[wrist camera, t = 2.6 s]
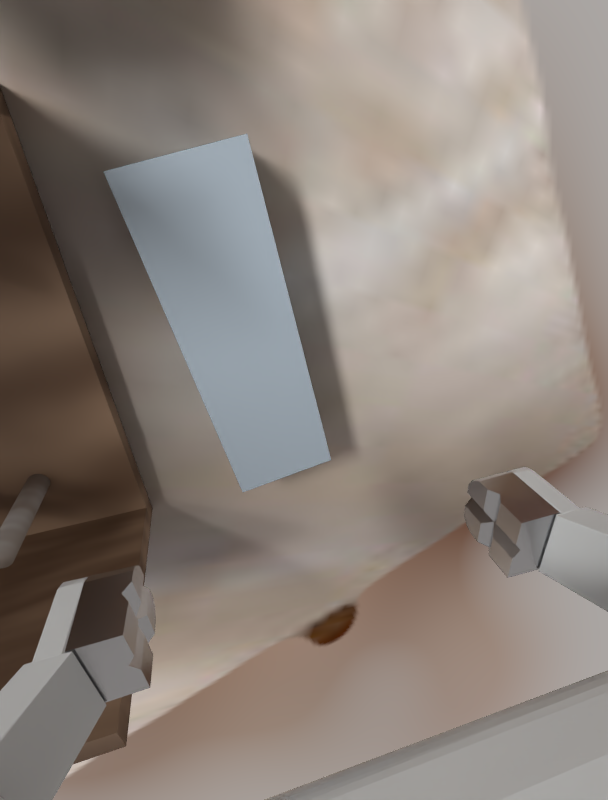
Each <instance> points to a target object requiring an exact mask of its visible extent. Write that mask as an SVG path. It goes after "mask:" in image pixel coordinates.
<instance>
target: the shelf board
mask: <svg viewBox="0 0 608 800" xmlns="http://www.w3.org/2000/svg"><path fill="white" fill-rule="evenodd" d="M103 172H104V174H105V176H106V179H107V181H108V183H109V186H110V188H111V190H112V193H113V195H114V197H115V199H116V202H117V204H118V206H119V209H120V211H121V213H122V216H123V218H124V220H125V222H126V225H127V227H128V229H129V232H130V234H131V236H132V239H133V241H134V243H135V246H136V248H137V250H138V252H139V255H140V257H141V259H142V262H143V264H144V266H145V269H146V271H147V273H148V275H149V278H150V280H151V282H152V285H153V287H154V289H155V292H156V294H157V296H158V298H159V301H160V303H161V305H162V308H163V310H164V312H165V315H166V317H167V319H168V321H169V324H170V326H171V328H172V331H173V333H174V335H175V338H176V340H177V342H178V344H179V347H180V349H181V351H182V354H183V356H184V358H185V361H186V363H187V365H188V367H189V370H190V372H191V374H192V377H193V379H194V381H195V384H196V386H197V388H198V390H199V393H200V395H201V397H202V400H203V402H204V404H205V407H206V409H207V411H208V413H209V416H210V418H211V420H212V423H213V425H214V427H215V430H216V432H217V434H218V436H219V439H220V441H221V443H222V446H223V448H224V450H225V453H226V455H227V457H228V459H229V462H230V464H231V466H232V469H233V471H234V473H235V476H236V478H237V480H238V483H239V485H240V487H241V489H242V492H245V491H248V490H251V489H253V488H256V487H259V486H261V485H264V484H267V483H270V482H272V481H275V480H278V479H281V478H283V477H286V476H289V475H291V474H294V473H297V472H300V471H302V470H305V469H308V468H311V467H313V466H316V465H319V464H321V463H324V462H327V461H330V460H331V457H330V453H329V450H328V446H327V442H326V438H325V434H324V430H323V426H322V422H321V419H320V415H319V411H318V407H317V403H316V399H315V395H314V391H313V387H312V384H311V380H310V376H309V372H308V368H307V364H306V360H305V356H304V353H303V349H302V345H301V341H300V337H299V333H298V329H297V325H296V321H295V318H294V314H293V310H292V306H291V302H290V298H289V294H288V290H287V287H286V283H285V279H284V275H283V271H282V267H281V263H280V259H279V256H278V252H277V248H276V244H275V240H274V236H273V232H272V228H271V224H270V221H269V217H268V213H267V209H266V205H265V201H264V197H263V193H262V190H261V186H260V182H259V178H258V174H257V170H256V166H255V162H254V158H253V155H252V151H251V147H250V143H249V139H248V135H247V134H244V135H240V136H236V137H232V138H228V139H225V140H221V141H217V142H213V143H209V144H206V145H202V146H198V147H194V148H190V149H187V150H183V151H179V152H175V153H171V154H168V155H164V156H160V157H156V158H152V159H149V160H145V161H141V162H137V163H133V164H130V165H126V166H122V167H118V168H114V169H111V170H107V171H103Z"/></svg>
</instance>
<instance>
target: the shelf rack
mask: <svg viewBox="0 0 608 800" xmlns="http://www.w3.org/2000/svg"><path fill="white" fill-rule="evenodd" d="M151 517H152V506H151V503H150V501H149V498H148V495H147V492H146V490H145V487H144V484H143V481H142V479H141V476H140V473H139V470H138V467H137V465H136V462H135V459H134V456H133V454H132V451H131V448H130V445H129V443H128V440H127V437H126V434H125V431H124V429H123V426H122V423H121V420H120V418H119V415H118V412H117V409H116V407H115V404H114V401H113V398H112V395H111V393H110V390H109V387H108V384H107V382H106V379H105V376H104V373H103V371H102V368H101V365H100V362H99V359H98V357H97V354H96V351H95V348H94V346H93V343H92V340H91V337H90V335H89V332H88V329H87V326H86V323H85V321H84V318H83V315H82V312H81V310H80V307H79V304H78V301H77V299H76V296H75V293H74V290H73V287H72V285H71V282H70V279H69V276H68V274H67V271H66V268H65V265H64V263H63V260H62V257H61V254H60V251H59V249H58V246H57V243H56V240H55V238H54V235H53V232H52V229H51V227H50V224H49V221H48V218H47V215H46V213H45V210H44V207H43V204H42V202H41V199H40V196H39V193H38V191H37V188H36V185H35V182H34V179H33V177H32V174H31V171H30V168H29V166H28V163H27V160H26V157H25V155H24V152H23V149H22V146H21V143H20V141H19V138H18V135H17V132H16V130H15V127H14V124H13V121H12V119H11V116H10V113H9V110H8V107H7V105H6V102H5V99H4V96H3V94H2V91H1V88H0V691H1V689H2V688H3V687H4V686H5V685H6V684H7V683H8V682H9V680H10V679H11V678H12V677H13V676H14V675H15V674H16V673H17V672H18V670H19V669H20V668H21V667H22V666H23V665H24V664H28V663H31V662H32V661H33V658H34V655H35V652H36V649H37V646H38V644H39V641H40V638H41V635H42V632H43V629H44V626H45V623H46V620H47V618H48V615H49V612H50V609H51V606H52V603H53V600H54V597H55V594H56V592H57V589H58V588H59V587H60V586H61V584H62V583H63V582H67V581H71V580H75V579H80V578H84V577H88V576H91V575H96V574H100V573H104V572H109V571H113V570H118V569H122V568H127V567H131V566H135V565H138V566H140V568H141V570H142V572H143V574H144V580H145V571H146V562H147V553H148V544H149V535H150V526H151ZM143 586H144V581H143ZM131 697H132V694H130V695H127V696H124V697H121V698H118V699H115V700H112V701H109V702H106V707H105V709H104V710H103V712H102V714H101V716H100V717H99V719H98V721H97V723H96V724H95V726H94V728H93V730H92V731H91V733H90V735H89V737H88V738H87V740H86V742H85V744H84V745H83V747H82V749H81V751H80V752H79V754H78V756H77V758H76V759H75V761H74V763H73V764H75V763H78V762H81V761H84V760H87V759H90V758H93V757H96V756H99V755H102V754H105V753H108V752H110V751H113V750H116V749H119V748H122V747H125V746H126V742H127V733H128V724H129V715H130V706H131Z"/></svg>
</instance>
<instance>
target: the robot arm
mask: <svg viewBox="0 0 608 800" xmlns="http://www.w3.org/2000/svg"><path fill="white" fill-rule="evenodd" d="M467 493H468V494H469V495H470V496H471V497H472V498H471V499H470V500H469V502H468V503H467V504H466V505H465V513H464V516H465V520H466V524H467V527H468V529H469V530H470V532H471V534H472V535H473V537H474V538H475V539H476V540H477V542H479V543H481V544H483V545H486V546H488V547H489V556H490V557H491V558H492V560H493V561H494V562H495V563H496V564H497V566H498V567H499V568H500V569H501V570H502V572H503V573H504V574H505V575H506V576H507V577H512V576H516V575H519V574H522V573H526V572H530V571H534V570H537V569H539V572H541V573H543V574H544V575H546V576H548V577H550V578H551V579H553V580H555V581H556V582H558V583H560V584H561V585H563V586H565V587H567V588H568V589H570V590H572V591H573V592H575V593H577V594H579V595H580V596H582V597H584V598H586V599H587V600H589V601H591V602H593V603H594V604H596V605H597V606H599V607H601V608H603V609H604V610H606V611H608V514H605V513H602V512H599V511H596V510H594V509H591V508H588V507H582V508H580V507H578V506H577V505H576V504H574V503H573V502H572V501H571V500H569V499H568V498H567V497H566V496H564V495H563V494H562V493H561V492H559V491H558V490H557V489H556V488H554V487H553V486H552V485H551V484H549V483H548V482H547V481H546V480H544V479H543V478H542V477H541V476H539V475H538V474H537V473H536V472H534V471H533V470H532V469H530V468H527V467H522V468H518V469H514V470H510V471H507V472H502V473H498V474H494V475H491V476H487V477H483V478H479V479H475V480H472V481H471V483H470V484H469V487H468V492H467ZM143 581H144V574H143V572H142V570H141V568H140V566H138V565H135V566H131V567H127V568H122V569H118V570H113V571H109V572H104V573H100V574H96V575H91V576H88V577H84V578H80V579H75V580H71V581H67V582H63V583H62V584H61V586H60V587H59V588H58V589H57V592H56V594H55V597H54V600H53V603H52V606H51V609H50V612H49V615H48V618H47V620H46V623H45V626H44V629H43V632H42V635H41V638H40V641H39V644H38V646H37V649H36V652H35V655H34V658H33V661H32V662H31V663H28V664H24V665H23V666H22V667H21V668H20V669H19V670H18V672H17V673H16V674H15V675H14V676H13V677H12V678H11V679H10V680H9V682H8V683H7V684H6V685H5V686H4V687H3V688H2V689H1V691H0V800H52V799H53V798H54V796H55V794H56V793H57V791H58V789H59V787H60V786H61V784H62V782H63V780H64V779H65V777H66V775H67V773H68V772H69V770H70V768H71V766H72V765H73V763H74V761H75V759H76V758H77V756H78V754H79V752H80V751H81V749H82V747H83V745H84V744H85V742H86V740H87V738H88V737H89V735H90V733H91V731H92V730H93V728H94V726H95V724H96V723H97V721H98V719H99V717H100V716H101V714H102V712H103V710H104V709H105V707H106V702H109V701H112V700H115V699H118V698H121V697H124V696H127V695H130V694H132V693H135V692H138V691H141V690H144V689H147V688H150V683H151V672H152V661H153V653H152V651H151V648H150V646H149V644H148V643H149V641H150V640H151V638H152V637H153V635H154V634H155V624H156V616H155V604H154V600H153V596H152V593H151V591H150V589H149V588H147V587H145V586H143ZM265 800H608V671H605V672H603V673H600V674H597V675H595V676H592V677H589V678H587V679H584V680H581V681H579V682H576V683H573V684H571V685H568V686H565V687H563V688H560V689H557V690H555V691H552V692H549V693H547V694H544V695H541V696H539V697H536V698H534V699H531V700H528V701H525V702H523V703H520V704H518V705H515V706H512V707H510V708H507V709H504V710H502V711H499V712H496V713H494V714H491V715H488V716H486V717H483V718H480V719H478V720H475V721H473V722H470V723H467V724H464V725H462V726H459V727H456V728H454V729H451V730H448V731H446V732H443V733H440V734H438V735H435V736H433V737H430V738H427V739H424V740H422V741H419V742H417V743H414V744H412V745H409V746H406V747H403V748H401V749H398V750H395V751H393V752H390V753H387V754H385V755H382V756H379V757H377V758H374V759H371V760H369V761H366V762H363V763H361V764H358V765H355V766H353V767H350V768H347V769H345V770H342V771H339V772H337V773H334V774H331V775H329V776H326V777H324V778H321V779H318V780H316V781H313V782H310V783H308V784H305V785H302V786H300V787H297V788H294V789H292V790H289V791H287V792H284V793H281V794H279V795H276V796H273V797H270V798H268V799H265Z"/></svg>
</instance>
